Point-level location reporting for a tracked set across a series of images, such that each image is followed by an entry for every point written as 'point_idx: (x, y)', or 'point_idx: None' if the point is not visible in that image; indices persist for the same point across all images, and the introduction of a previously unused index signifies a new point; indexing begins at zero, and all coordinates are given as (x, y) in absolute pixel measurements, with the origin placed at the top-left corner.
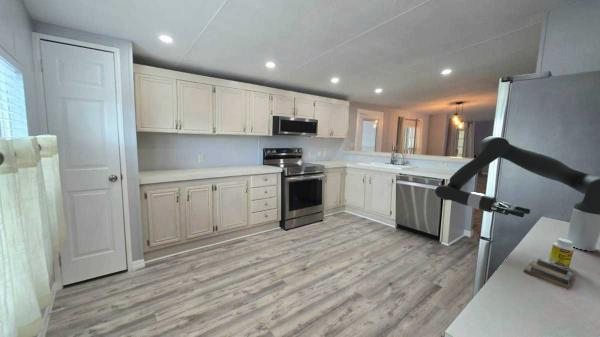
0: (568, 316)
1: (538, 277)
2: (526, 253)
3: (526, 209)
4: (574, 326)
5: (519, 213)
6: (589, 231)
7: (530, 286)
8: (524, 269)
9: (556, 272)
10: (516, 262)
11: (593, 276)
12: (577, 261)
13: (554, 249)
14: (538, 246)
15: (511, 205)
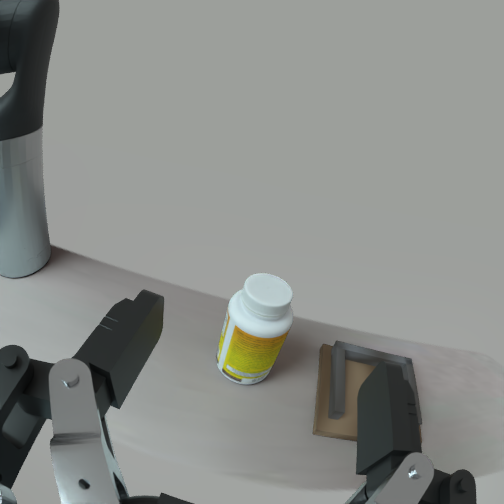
0: (488, 373)
1: None
2: (217, 444)
3: (151, 319)
4: (499, 368)
5: (409, 400)
6: (41, 195)
7: (466, 422)
8: (421, 441)
9: (352, 378)
10: None
11: None
12: None
13: (277, 346)
14: None
15: (112, 464)
